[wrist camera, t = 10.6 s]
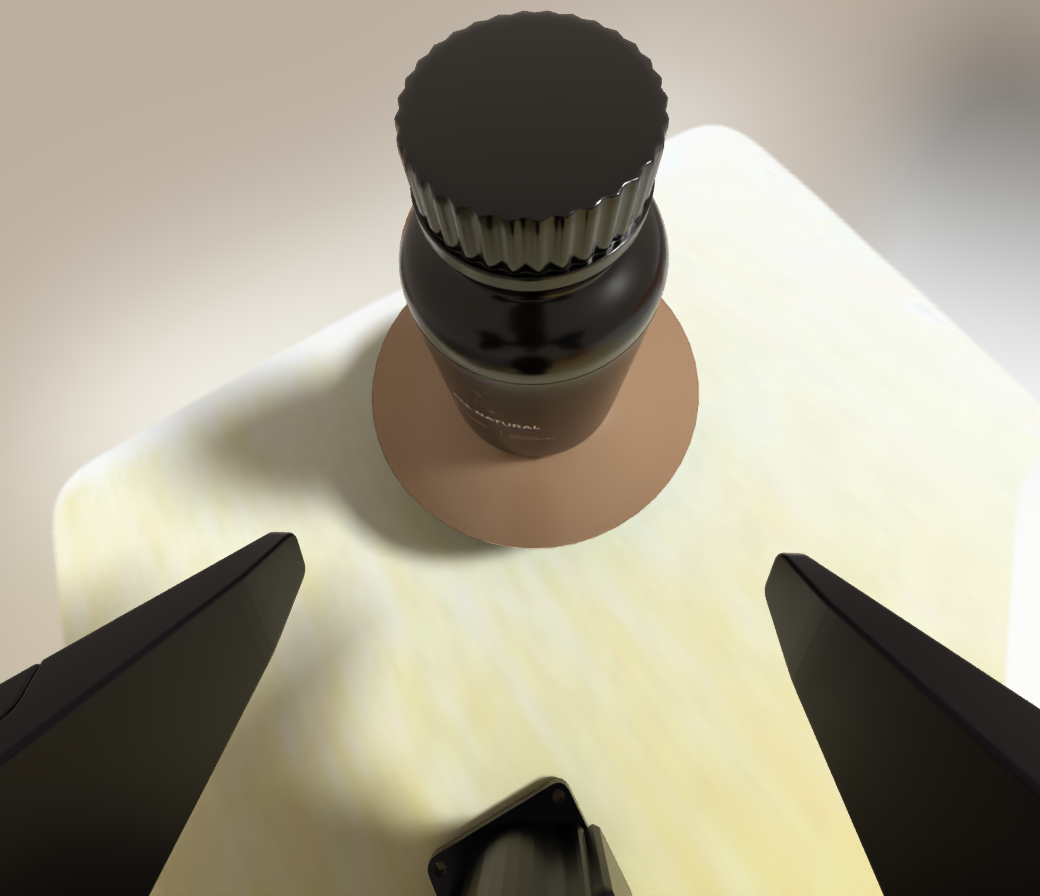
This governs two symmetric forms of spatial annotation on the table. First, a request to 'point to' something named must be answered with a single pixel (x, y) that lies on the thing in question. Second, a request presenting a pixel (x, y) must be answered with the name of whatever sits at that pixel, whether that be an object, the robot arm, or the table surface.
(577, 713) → the table surface
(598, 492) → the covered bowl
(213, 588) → the robot arm
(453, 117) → the supplement bottle
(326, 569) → the table surface
